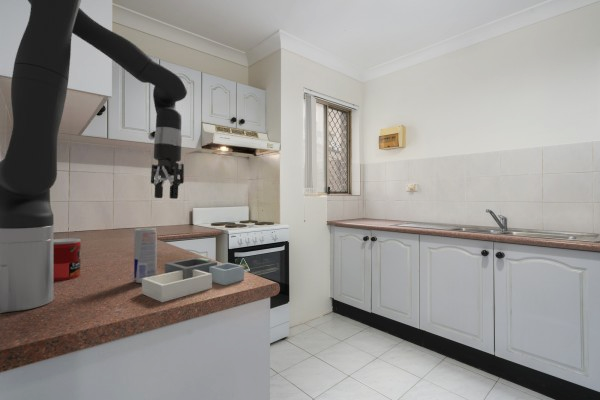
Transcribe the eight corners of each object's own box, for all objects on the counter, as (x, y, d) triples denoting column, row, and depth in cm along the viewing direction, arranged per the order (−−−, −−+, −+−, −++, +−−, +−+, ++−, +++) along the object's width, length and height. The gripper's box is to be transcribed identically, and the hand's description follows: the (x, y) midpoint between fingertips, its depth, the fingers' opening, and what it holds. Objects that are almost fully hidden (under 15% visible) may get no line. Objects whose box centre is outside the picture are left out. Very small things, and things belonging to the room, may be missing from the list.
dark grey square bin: (185, 285, 81) (185, 267, 81) (164, 278, 88) (164, 262, 88) (217, 277, 90) (217, 261, 90) (196, 271, 96) (196, 256, 96)
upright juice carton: (160, 278, 88) (160, 227, 87) (148, 284, 82) (149, 229, 82) (142, 278, 88) (142, 227, 88) (129, 283, 82) (129, 229, 82)
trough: (162, 302, 68) (162, 285, 68) (141, 293, 74) (142, 278, 74) (211, 288, 79) (212, 273, 79) (190, 281, 85) (190, 268, 85)
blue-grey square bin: (224, 285, 82) (224, 270, 82) (209, 280, 86) (209, 266, 86) (244, 279, 87) (244, 266, 87) (228, 275, 92) (228, 262, 92)
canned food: (76, 279, 86) (76, 241, 86) (41, 282, 83) (41, 242, 83) (84, 273, 93) (84, 237, 93) (52, 275, 90) (52, 238, 90)
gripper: (143, 144, 92) (141, 197, 92) (169, 140, 83) (166, 198, 83) (167, 148, 98) (165, 198, 98) (192, 144, 89) (190, 199, 89)
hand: (165, 198), depth 90 cm, fingers open, 8 cm apart
